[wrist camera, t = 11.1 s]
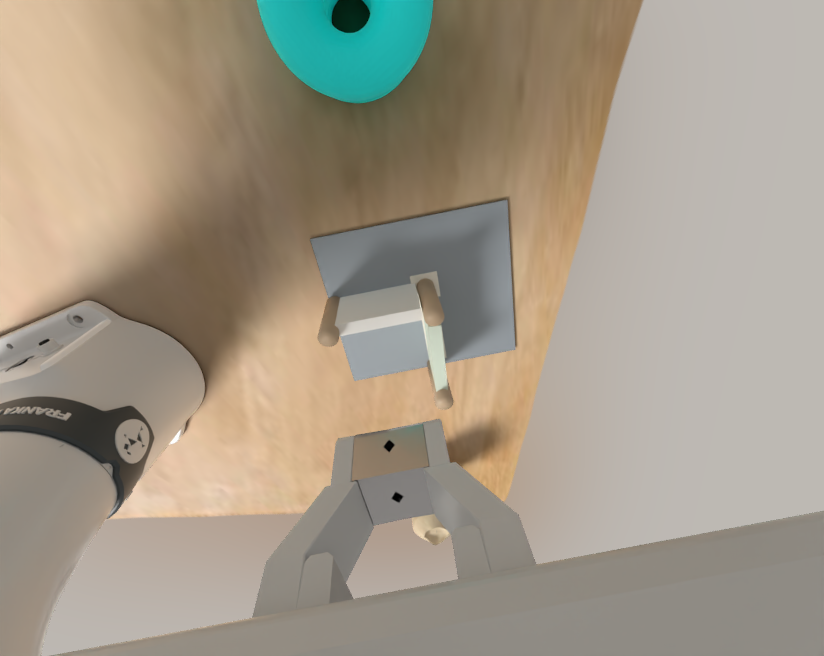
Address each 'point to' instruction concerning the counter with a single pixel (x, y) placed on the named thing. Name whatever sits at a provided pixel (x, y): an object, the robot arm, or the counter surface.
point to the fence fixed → (379, 310)
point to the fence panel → (438, 367)
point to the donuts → (348, 45)
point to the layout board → (438, 261)
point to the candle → (430, 529)
